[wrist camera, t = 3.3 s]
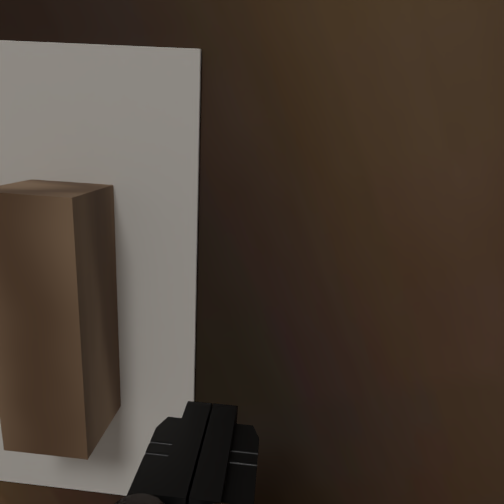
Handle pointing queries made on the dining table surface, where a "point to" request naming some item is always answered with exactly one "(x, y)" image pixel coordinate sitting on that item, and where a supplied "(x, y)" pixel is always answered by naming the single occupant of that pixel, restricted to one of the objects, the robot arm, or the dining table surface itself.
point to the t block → (57, 317)
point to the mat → (117, 220)
